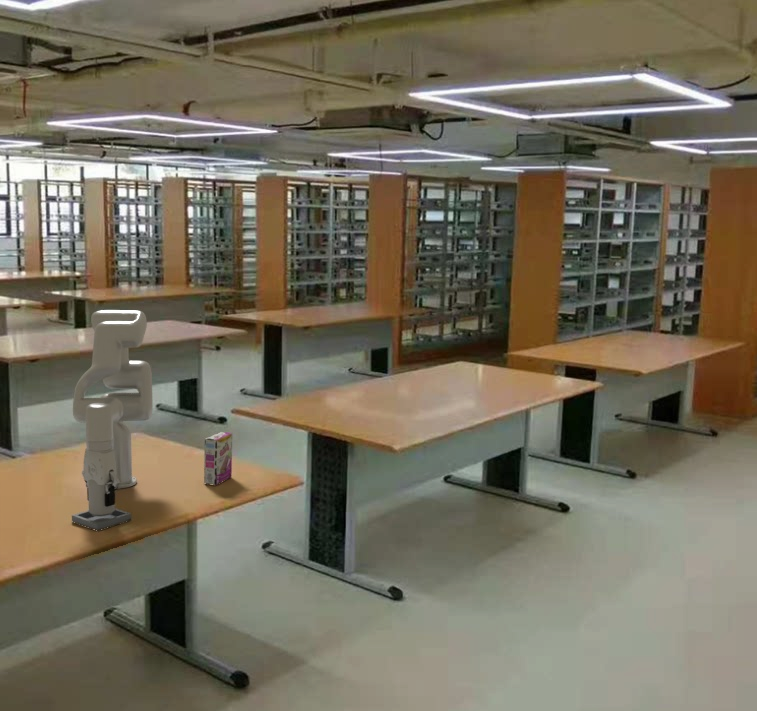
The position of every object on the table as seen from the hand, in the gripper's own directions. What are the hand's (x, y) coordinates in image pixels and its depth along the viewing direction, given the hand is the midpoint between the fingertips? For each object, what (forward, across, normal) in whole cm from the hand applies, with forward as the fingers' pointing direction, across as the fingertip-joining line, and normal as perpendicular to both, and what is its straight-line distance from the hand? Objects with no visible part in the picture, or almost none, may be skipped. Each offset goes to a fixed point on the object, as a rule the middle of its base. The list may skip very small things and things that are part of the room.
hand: (101, 502), depth 248 cm
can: (+4, 0, 0) cm, 4 cm away
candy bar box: (+6, -2, +50) cm, 50 cm away
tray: (+6, 0, 0) cm, 6 cm away
